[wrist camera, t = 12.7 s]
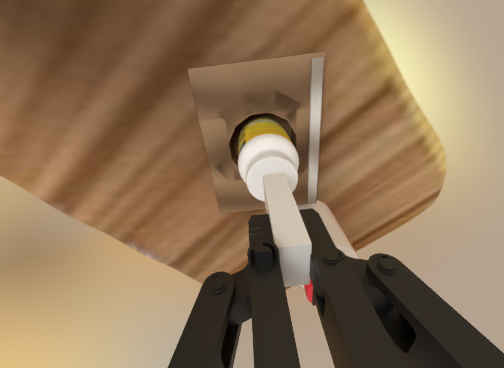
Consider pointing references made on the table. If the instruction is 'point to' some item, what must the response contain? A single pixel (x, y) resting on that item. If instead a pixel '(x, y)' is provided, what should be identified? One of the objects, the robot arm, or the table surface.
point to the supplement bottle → (266, 154)
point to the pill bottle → (335, 233)
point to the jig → (257, 102)
